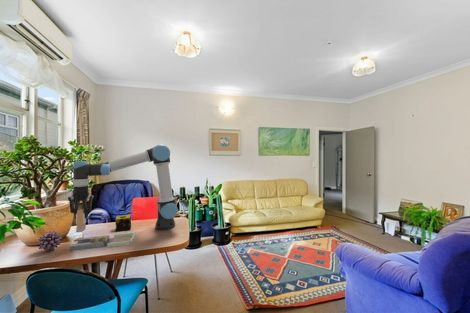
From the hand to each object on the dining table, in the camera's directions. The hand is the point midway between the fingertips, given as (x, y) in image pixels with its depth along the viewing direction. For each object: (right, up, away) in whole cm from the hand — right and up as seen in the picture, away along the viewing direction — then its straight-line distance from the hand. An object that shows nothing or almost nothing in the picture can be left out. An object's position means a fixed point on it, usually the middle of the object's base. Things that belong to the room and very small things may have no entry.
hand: (81, 223), depth 131 cm
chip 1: (+8, -14, +2) cm, 16 cm away
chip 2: (+12, -14, +3) cm, 18 cm away
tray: (+23, -14, +6) cm, 27 cm away
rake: (0, -5, 0) cm, 5 cm away
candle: (+10, -15, +32) cm, 36 cm away
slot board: (+7, -15, +2) cm, 16 cm away
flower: (-15, -15, -4) cm, 22 cm away
